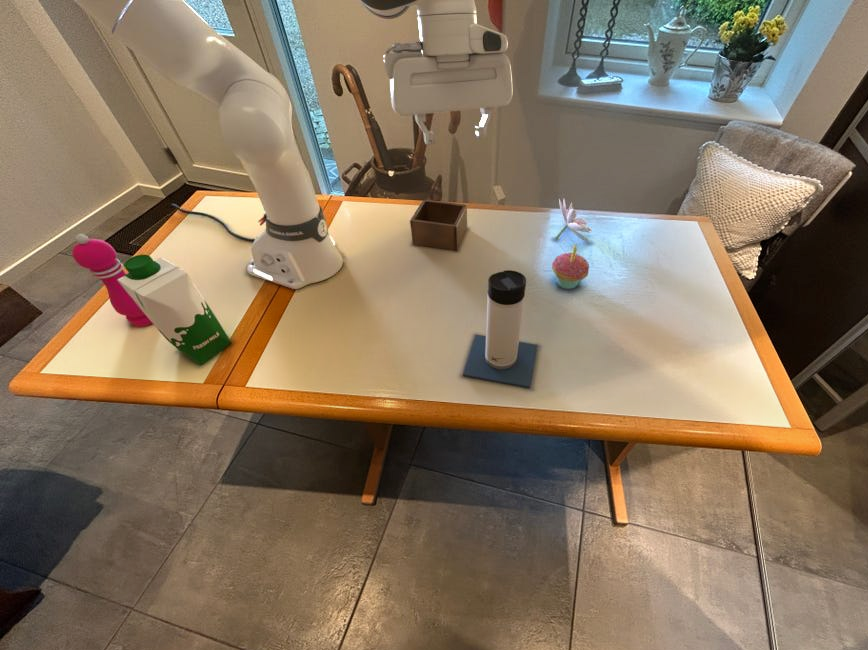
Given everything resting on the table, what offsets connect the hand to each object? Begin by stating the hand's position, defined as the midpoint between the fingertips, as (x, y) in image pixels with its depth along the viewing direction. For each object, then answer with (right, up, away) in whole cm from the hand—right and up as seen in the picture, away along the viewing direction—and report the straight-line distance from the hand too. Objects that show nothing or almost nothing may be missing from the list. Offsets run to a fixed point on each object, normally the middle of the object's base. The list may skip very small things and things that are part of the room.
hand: (455, 140), depth 70 cm
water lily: (+30, -5, +39) cm, 49 cm away
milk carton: (-51, -36, +11) cm, 64 cm away
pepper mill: (-68, -30, +16) cm, 76 cm away
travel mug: (+9, -39, +9) cm, 40 cm away
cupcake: (+25, -20, +26) cm, 41 cm away
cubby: (-6, -5, +38) cm, 39 cm away
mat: (+8, -39, +9) cm, 41 cm away
